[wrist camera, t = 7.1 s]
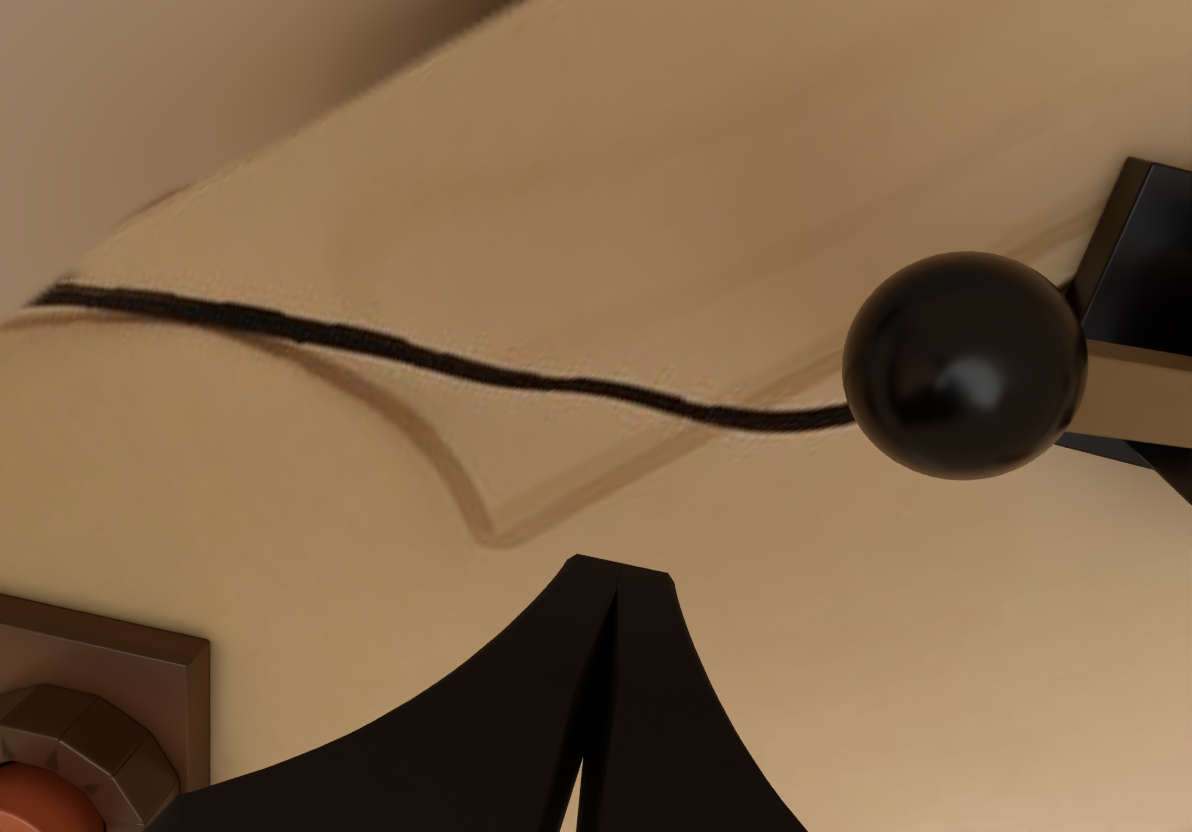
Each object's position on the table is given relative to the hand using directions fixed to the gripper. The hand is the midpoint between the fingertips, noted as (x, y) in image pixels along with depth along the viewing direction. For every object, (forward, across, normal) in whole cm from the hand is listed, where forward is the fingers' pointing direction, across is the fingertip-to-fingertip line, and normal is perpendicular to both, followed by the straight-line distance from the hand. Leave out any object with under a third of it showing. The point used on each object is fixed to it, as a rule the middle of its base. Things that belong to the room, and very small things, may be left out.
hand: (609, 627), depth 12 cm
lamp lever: (+5, -8, -4) cm, 10 cm away
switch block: (+10, +15, +16) cm, 24 cm away
